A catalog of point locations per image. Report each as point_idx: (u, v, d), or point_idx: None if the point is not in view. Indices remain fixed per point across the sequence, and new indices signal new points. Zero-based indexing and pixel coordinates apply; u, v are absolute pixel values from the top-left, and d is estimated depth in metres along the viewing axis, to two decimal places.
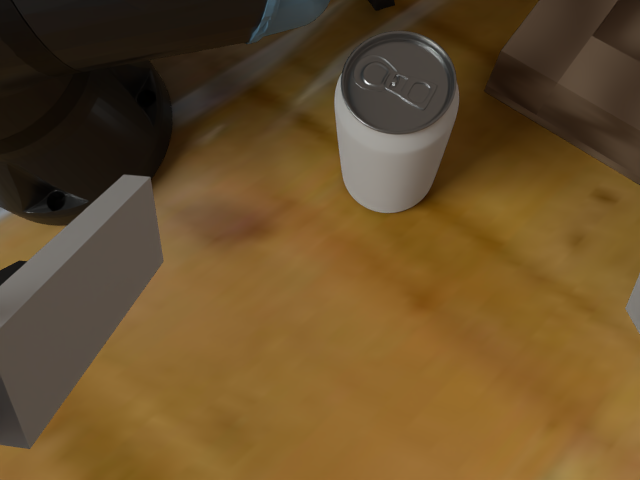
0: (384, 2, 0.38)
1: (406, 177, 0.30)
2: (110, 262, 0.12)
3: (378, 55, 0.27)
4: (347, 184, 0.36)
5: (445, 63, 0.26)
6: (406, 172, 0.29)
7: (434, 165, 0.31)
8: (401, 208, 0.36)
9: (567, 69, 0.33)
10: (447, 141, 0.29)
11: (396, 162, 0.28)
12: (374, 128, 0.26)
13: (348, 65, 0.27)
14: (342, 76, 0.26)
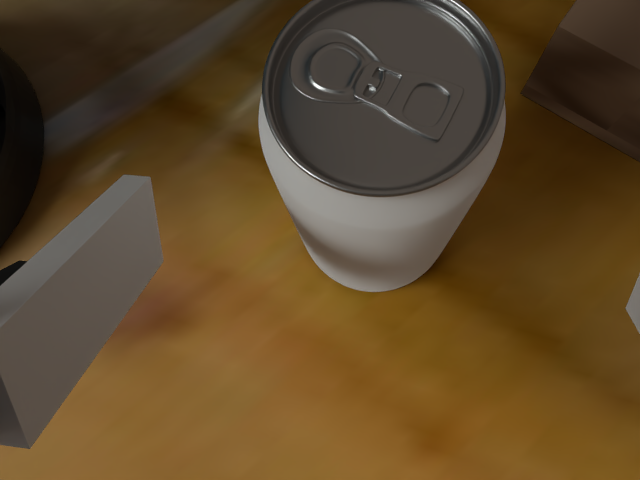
0: None
1: (403, 258, 0.16)
2: (110, 262, 0.12)
3: (340, 29, 0.13)
4: (307, 249, 0.22)
5: (479, 43, 0.13)
6: (402, 252, 0.15)
7: (453, 232, 0.17)
8: (395, 286, 0.22)
9: None
10: None
11: (381, 242, 0.14)
12: (331, 184, 0.12)
13: (279, 51, 0.13)
14: (265, 73, 0.13)
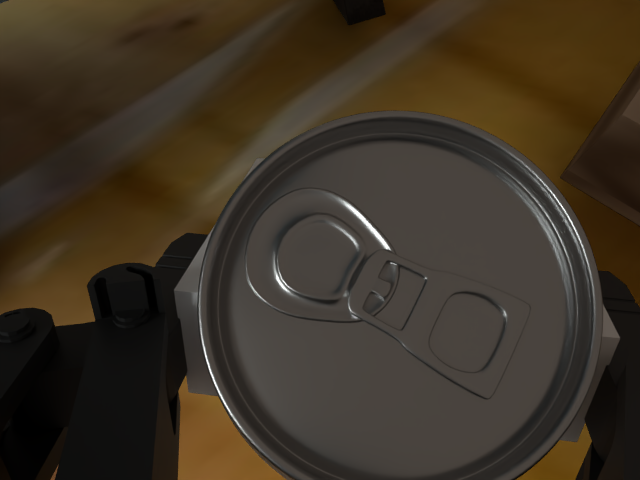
0: (365, 9, 0.20)
1: None
2: None
3: (328, 191, 0.08)
4: None
5: (552, 221, 0.08)
6: None
7: None
8: None
9: None
10: None
11: None
12: None
13: (228, 227, 0.08)
14: (204, 272, 0.08)
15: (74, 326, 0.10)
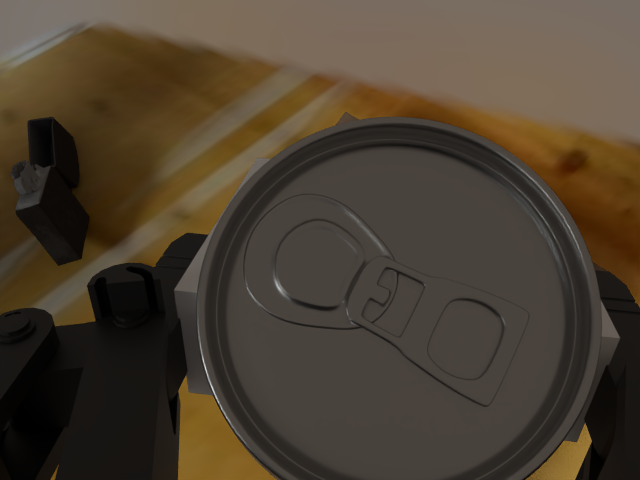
0: (65, 257, 0.31)
1: None
2: None
3: (327, 197, 0.08)
4: None
5: (551, 228, 0.08)
6: None
7: None
8: None
9: None
10: None
11: None
12: None
13: (227, 234, 0.08)
14: (202, 278, 0.08)
15: (74, 326, 0.10)
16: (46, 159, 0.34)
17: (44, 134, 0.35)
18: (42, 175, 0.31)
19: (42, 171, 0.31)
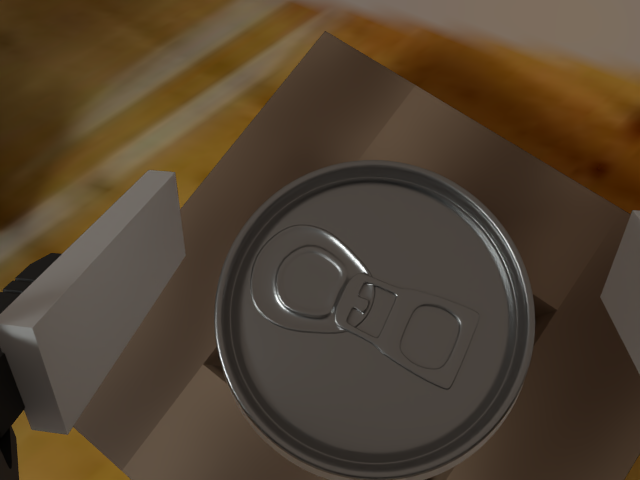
0: None
1: None
2: (139, 255, 0.13)
3: (315, 227, 0.10)
4: None
5: (495, 244, 0.10)
6: None
7: None
8: None
9: (145, 440, 0.17)
10: None
11: None
12: (309, 462, 0.09)
13: (236, 260, 0.10)
14: (218, 297, 0.10)
15: None
16: None
17: None
18: None
19: None
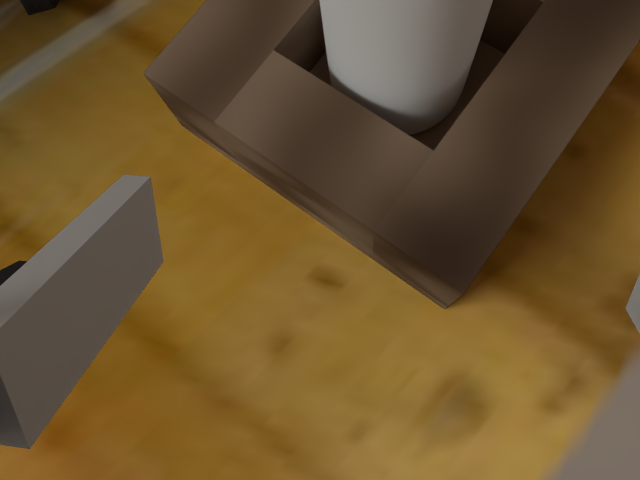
0: (37, 4, 0.27)
1: (434, 50, 0.19)
2: (110, 262, 0.12)
3: None
4: None
5: None
6: (435, 36, 0.18)
7: (475, 33, 0.19)
8: (420, 126, 0.24)
9: (231, 101, 0.22)
10: None
11: (419, 8, 0.16)
12: None
13: None
14: None
15: None
16: None
17: None
18: None
19: None
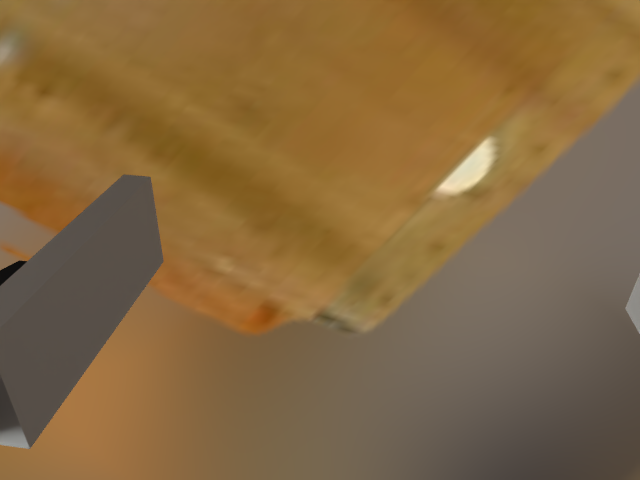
0: None
1: None
2: (110, 262, 0.12)
3: None
4: None
5: None
6: None
7: None
8: None
9: None
10: None
11: None
12: None
13: None
14: None
15: None
16: None
17: None
18: None
19: None
